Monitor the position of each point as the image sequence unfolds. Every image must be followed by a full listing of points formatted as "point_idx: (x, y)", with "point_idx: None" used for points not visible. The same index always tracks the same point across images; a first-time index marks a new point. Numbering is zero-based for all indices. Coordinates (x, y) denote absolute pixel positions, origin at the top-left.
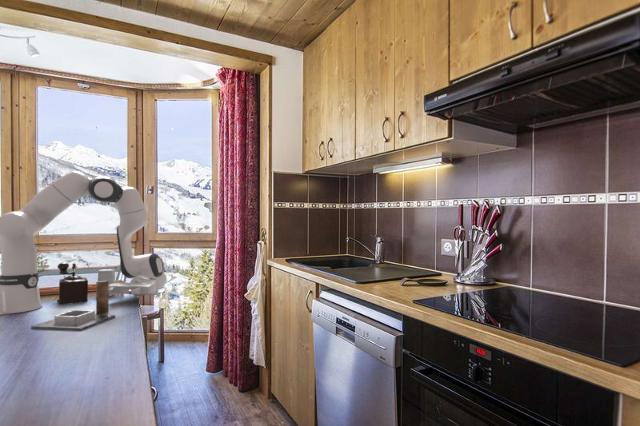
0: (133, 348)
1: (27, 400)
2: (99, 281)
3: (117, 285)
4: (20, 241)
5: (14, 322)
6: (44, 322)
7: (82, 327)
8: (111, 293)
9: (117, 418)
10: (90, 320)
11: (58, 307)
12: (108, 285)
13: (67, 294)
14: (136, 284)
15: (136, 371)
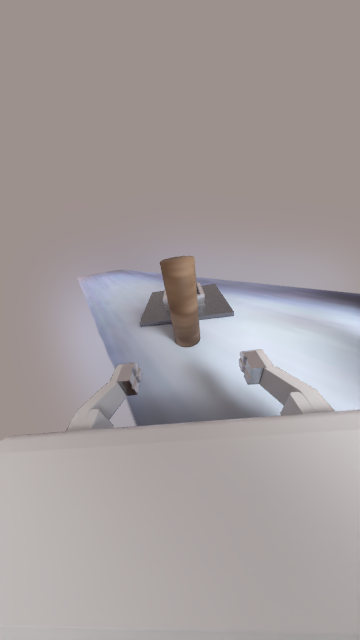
0: (88, 291)
1: (121, 271)
2: (189, 258)
3: (305, 419)
4: None
5: (272, 288)
6: (217, 290)
7: (152, 293)
8: (240, 367)
9: (87, 275)
10: (162, 304)
11: None
12: (163, 277)
13: None
14: (121, 563)
15: (83, 283)
